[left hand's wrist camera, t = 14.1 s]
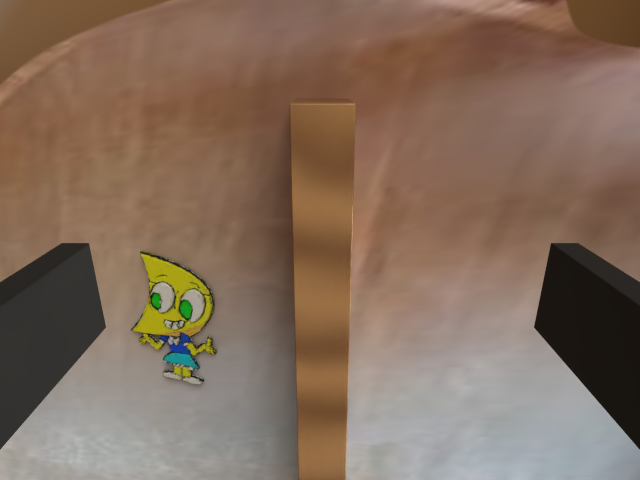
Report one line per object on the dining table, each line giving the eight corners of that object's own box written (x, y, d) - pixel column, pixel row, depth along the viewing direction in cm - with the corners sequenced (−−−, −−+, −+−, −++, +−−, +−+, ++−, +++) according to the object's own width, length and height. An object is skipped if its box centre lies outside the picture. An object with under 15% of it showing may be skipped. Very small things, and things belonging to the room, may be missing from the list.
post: (295, 98, 40) (289, 103, 32) (348, 98, 40) (355, 103, 32) (305, 627, 69) (304, 700, 61) (337, 627, 69) (339, 700, 61)
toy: (122, 369, 50) (137, 254, 45) (125, 364, 51) (140, 251, 46) (208, 388, 51) (232, 277, 46) (210, 383, 52) (234, 274, 47)
